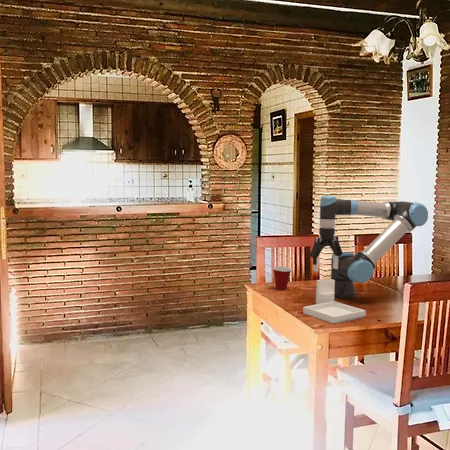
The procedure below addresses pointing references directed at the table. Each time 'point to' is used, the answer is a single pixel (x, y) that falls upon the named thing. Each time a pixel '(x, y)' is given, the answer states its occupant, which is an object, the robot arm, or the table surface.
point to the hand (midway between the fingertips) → (325, 269)
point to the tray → (334, 312)
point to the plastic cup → (281, 277)
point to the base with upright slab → (325, 291)
